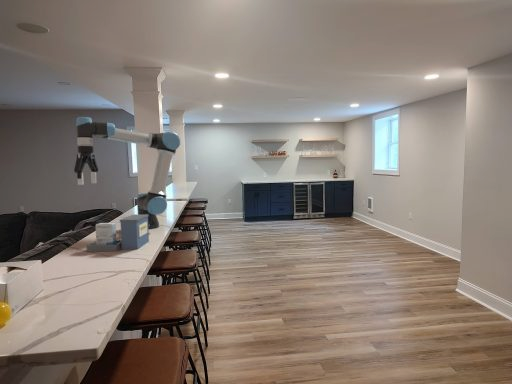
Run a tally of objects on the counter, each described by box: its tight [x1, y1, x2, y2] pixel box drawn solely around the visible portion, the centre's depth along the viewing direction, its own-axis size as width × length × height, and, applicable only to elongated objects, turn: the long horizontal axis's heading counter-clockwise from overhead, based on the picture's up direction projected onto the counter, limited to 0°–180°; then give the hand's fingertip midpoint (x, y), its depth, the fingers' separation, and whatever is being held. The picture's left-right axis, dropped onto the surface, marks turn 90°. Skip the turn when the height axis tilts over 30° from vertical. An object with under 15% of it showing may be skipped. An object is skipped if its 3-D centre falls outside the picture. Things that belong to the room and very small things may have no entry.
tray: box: [86, 239, 122, 252], centre depth 161 cm, size 11×15×3 cm
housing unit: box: [119, 214, 150, 250], centre depth 166 cm, size 17×9×15 cm, turn 179°
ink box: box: [95, 222, 118, 245], centre depth 161 cm, size 9×5×12 cm, turn 89°
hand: (87, 184), depth 178 cm, fingers open, 13 cm apart
